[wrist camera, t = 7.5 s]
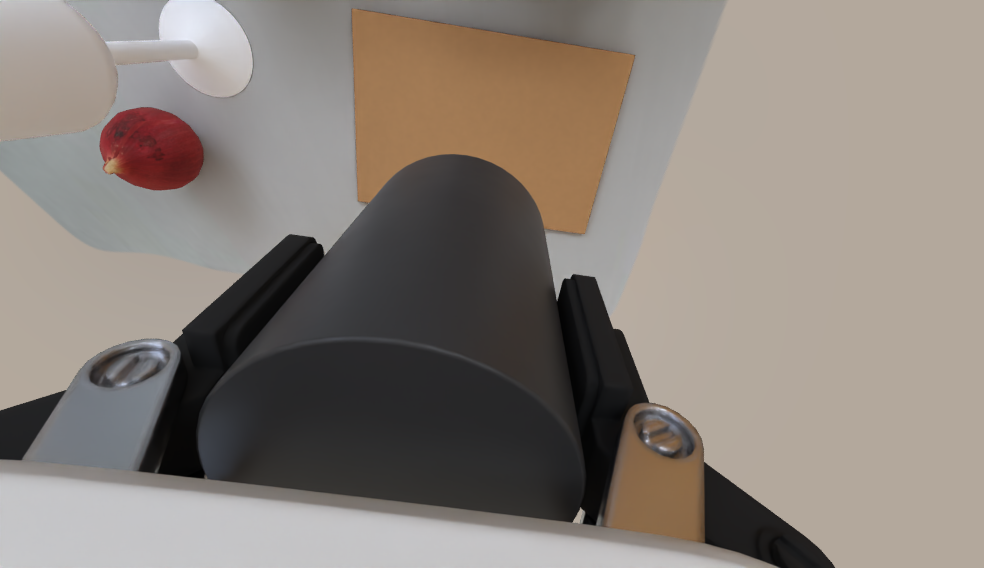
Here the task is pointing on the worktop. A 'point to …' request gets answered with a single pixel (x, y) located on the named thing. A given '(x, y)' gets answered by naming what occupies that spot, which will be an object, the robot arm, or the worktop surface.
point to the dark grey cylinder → (414, 360)
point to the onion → (151, 149)
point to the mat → (486, 107)
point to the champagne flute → (105, 62)
